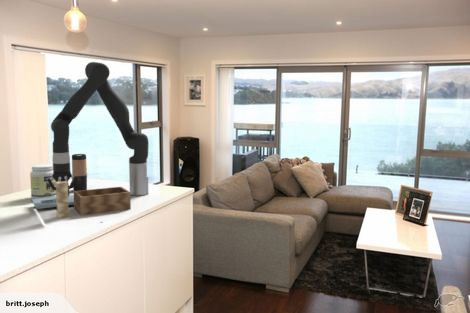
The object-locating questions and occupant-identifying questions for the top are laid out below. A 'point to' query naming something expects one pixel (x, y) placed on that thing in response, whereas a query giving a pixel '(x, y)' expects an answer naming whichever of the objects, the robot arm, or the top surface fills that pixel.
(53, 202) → the lid
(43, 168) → the supplement tub
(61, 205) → the beech key
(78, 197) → the wooden box
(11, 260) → the top surface
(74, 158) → the travel mug
